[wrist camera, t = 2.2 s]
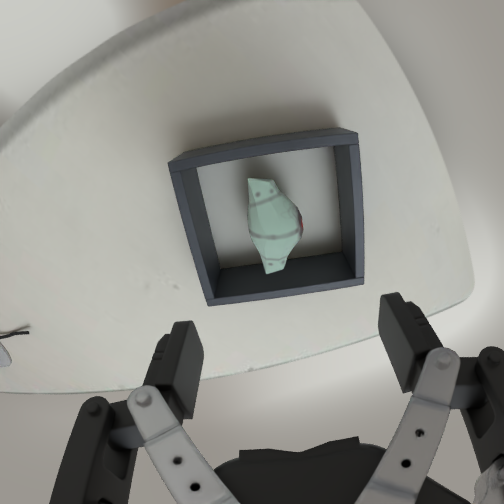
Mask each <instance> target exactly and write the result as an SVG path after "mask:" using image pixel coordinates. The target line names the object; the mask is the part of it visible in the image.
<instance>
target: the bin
mask: <svg viewBox="0 0 504 504" xmlns="http://www.w3.org/2000/svg"><path fill="white" fill-rule="evenodd" d="M358 143H359V140H358V133H357V132H353V131H350V130H347V129H343V128H329V129H319V130H310V131H302V132H294V133H286V134H279V135H272V136H266V137H259V138H253V139H247V140H242V141H236V142H231V143H225V144H220V145H215V146H210V147H205V148H201V149H196V150H191V151H187V152H183V153H182V154H180V155H179V156H177V157H176V158H174V159H173V160H171V161H170V162H168V167H169V171H170V175H171V179H172V183H173V187H174V191H175V195H176V199H177V202H178V206H179V210H180V214H181V217H182V221H183V225H184V228H185V232H186V235H187V239H188V243H189V246H190V250H191V253H192V256H193V260H194V263H195V267H196V270H197V273H198V277H199V280H200V283H201V287H202V290H203V293H204V296H205V299H206V302H207V305H208V306H217V305H225V304H234V303H242V302H250V301H257V300H265V299H273V298H280V297H287V296H294V295H301V294H307V293H314V292H321V291H327V290H333V289H339V288H346V287H352V286H357V285H363V284H364V211H363V191H362V175H361V162H360V151H359V144H358ZM328 146H334V152H335V161H336V171H337V181H338V193H339V205H340V219H341V236H342V252H337V253H330V254H324V255H317V256H310V257H304V258H297V259H290V260H286V263H285V266H284V269H282V270H279V271H275V272H272V273H269V274H266V272H265V269H264V265H263V263H262V264H255V265H248V266H241V267H234V268H227V269H220V265H219V261H218V257H217V253H216V249H215V245H214V241H213V237H212V233H211V229H210V225H209V221H208V217H207V213H206V208H205V204H204V200H203V196H202V191H201V187H200V183H199V179H198V174H197V170H196V167H200V166H205V165H210V164H215V163H221V162H226V161H231V160H237V159H243V158H248V157H254V156H261V155H267V154H274V153H280V152H287V151H295V150H302V149H310V148H319V147H328Z"/></svg>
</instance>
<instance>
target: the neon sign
mask: <svg viewBox="0 0 504 504" xmlns="http://www.w3.org/2000/svg"><path fill="white" fill-rule="evenodd" d="M22 334H29V331H22V332H13V333H10V334H7V335H4V336H0V339H3V338H8V337H11V336H14V335H22ZM11 362H12V361H11V357H10V355H9V354H8V352H7V351H6V349H5V348H4V347H3V345H2V344H1V343H0V368H1V367H6V366H10V364H11Z"/></svg>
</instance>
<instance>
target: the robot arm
mask: <svg viewBox="0 0 504 504" xmlns="http://www.w3.org/2000/svg"><path fill="white" fill-rule="evenodd" d="M378 329H379V334H380V337H381V340H382V342H383V344H384V347H385V349H386V352H387V354H388V356H389V359H390V361H391V364H392V366H393V368H394V371H395V374H396V376H397V379H398V381H399V384H400V386H401V389H402V392H403V393H406V392H410V391H412V394H413V395H412V396H411V399H410V401H409V403H408V406H407V408H406V410H405V413H404V415H403V417H402V419H401V422H400V424H399V426H398V428H397V430H396V432H395V434H394V436H393V439H392V440H391V442H390V444H389V446H388V448H387V449H385V448H382V447H380V446H376V445H372V444H365V443H360V442H359V438H358V436H357V437H352V438H346V439H341V440H335V441H329V442H327V443H324V444H322V445H319V446H316V447H314V448H311V449H308V450H305V451H303V452H291V451H282V450H275V449H255V450H240V451H239V458H235V459H233V460H230V461H227V462H225V463H223V464H222V465H220V466H218V467H217V468H215V469H214V470H213V469H212V467H211V466H210V465H209V464H208V462H207V461H206V460H205V458H204V457H203V456H202V454H201V453H200V451H199V450H198V449H197V447H196V446H195V445H194V443H193V442H192V440H191V439H190V437H189V436H188V435H187V433H186V432H185V430H184V429H183V427H182V423H183V419H192V418H193V413H194V408H195V402H196V397H197V391H198V386H199V381H200V376H201V370H202V365H203V360H204V351H203V346H202V344H201V341H200V338H199V336H198V333H197V330H196V327H195V325H194V323H193V321H180V322H175V323H174V325H173V328H172V331H171V333H170V334H165V335H164V336H163V337H162V338H161V339H160V341H159V342H158V343H157V346H156V349H155V353H154V354H153V357H152V360H151V363H150V366H149V368H148V371H147V374H146V377H145V380H144V383H143V385H142V386H141V387H138V388H136V389H135V390H133V391H132V392H131V394H130V395H129V397H128V399H127V400H124V401H120V402H115V403H110V404H109V402H108V401H107V400H106V399H105V398H103V397H100V396H96V397H92V398H90V399H88V400H86V402H84V403H83V405H82V406H81V409H80V411H79V414H78V416H77V419H76V422H75V424H74V427H73V430H72V433H71V436H70V438H69V441H68V444H67V447H66V450H65V453H64V456H63V459H62V462H61V465H60V468H59V472H58V475H57V478H56V482H55V485H54V488H53V492H52V495H51V500H50V503H49V504H128V499H129V493H130V488H131V482H132V476H133V471H134V466H135V461H136V456H137V451H138V448H139V447H145V449H146V451H147V453H148V455H149V457H150V459H151V460H152V462H153V464H154V466H155V468H156V469H157V471H158V473H159V475H160V476H161V478H162V480H163V481H164V483H165V485H166V486H167V488H168V490H169V491H170V493H171V495H172V496H173V498H174V499H175V501H176V502H177V504H471V503H470V502H469V501H467V500H466V499H464V498H462V497H460V496H459V495H457V494H455V493H454V492H452V491H450V490H449V489H447V488H445V487H444V486H442V485H441V484H439V483H437V482H436V481H434V480H433V479H431V478H429V477H428V476H426V475H427V473H428V471H429V469H430V466H431V464H432V461H433V459H434V456H435V454H436V451H437V449H438V446H439V443H440V441H441V438H442V435H443V432H444V429H445V426H446V423H447V420H448V417H449V414H450V410H451V409H460V411H461V414H462V416H463V419H464V422H465V424H466V427H467V430H468V433H469V436H470V439H471V442H472V445H473V448H474V451H475V454H476V458H477V461H478V464H479V468H480V471H481V475H480V476H479V477H478V479H477V481H476V483H475V498H474V502H473V504H504V351H503V350H502V349H500V348H498V347H492V346H490V347H486V348H484V349H483V350H482V351H481V352H480V354H479V356H478V357H459V356H458V355H457V354H456V352H455V351H453V350H451V349H449V348H444V347H443V345H442V343H441V342H440V340H439V338H438V337H437V335H436V333H435V332H434V330H433V328H432V327H431V325H430V324H429V322H428V320H427V319H426V317H425V315H424V314H423V312H422V311H421V309H420V308H419V307H418V306H417V305H415V304H414V303H412V302H411V301H410V302H405V301H404V300H403V298H402V296H401V295H400V293H399V292H395V293H390V294H384V295H381V298H380V308H379V319H378Z"/></svg>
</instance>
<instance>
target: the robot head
mask: <svg viewBox="0 0 504 504" xmlns="http://www.w3.org/2000/svg"><path fill="white" fill-rule="evenodd" d="M248 191H249V204H248V215H247V216H248V226H249V232H250V236H251V239H252V241H253V243H254V245H255V246H256V248H257V249H258V251H259V254H260V256H261V259H262V262H263V265H264V269H265V272H266V274H269V273H272V272H275V271H279V270H282V269H284V266H285V263H286V260H287V256H288V255H289V253H290V252H291V250H292V248H293V247H294V246H295V245H296V244H297V243H298V241H299V240H300V239H301V236H302V233H303V224H302V216H301V214H300V212H299V210H298V207H297V206H296V205H295V204H294V203H293V202H292V201H291V200H290V199H289V198H288V197H287V196H286V195H284V194H283V193H282V192H280V191H279V189H278V187H277V186H276V184H275V182H274V181H273V179H257V178H248Z"/></svg>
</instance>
